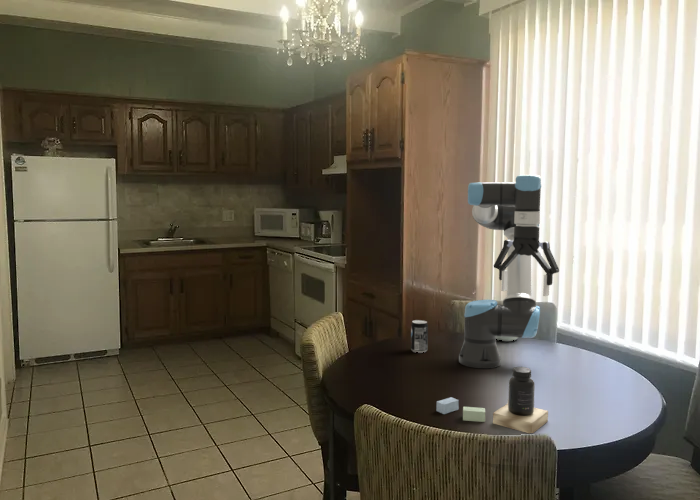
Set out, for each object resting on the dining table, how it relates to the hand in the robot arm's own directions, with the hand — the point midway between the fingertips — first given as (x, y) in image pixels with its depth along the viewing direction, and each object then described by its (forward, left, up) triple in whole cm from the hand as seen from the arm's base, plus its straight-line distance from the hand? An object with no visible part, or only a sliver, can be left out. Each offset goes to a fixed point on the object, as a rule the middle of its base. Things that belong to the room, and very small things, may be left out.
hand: (524, 293), depth 179 cm
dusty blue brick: (-10, -29, -32) cm, 44 cm away
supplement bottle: (+10, -24, -29) cm, 39 cm away
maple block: (+10, -24, -32) cm, 41 cm away
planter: (-33, +59, -32) cm, 75 cm away
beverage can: (-51, +19, -32) cm, 63 cm away
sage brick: (-1, -30, -32) cm, 44 cm away
